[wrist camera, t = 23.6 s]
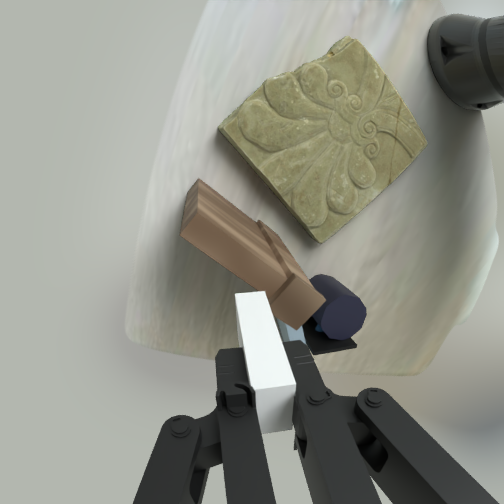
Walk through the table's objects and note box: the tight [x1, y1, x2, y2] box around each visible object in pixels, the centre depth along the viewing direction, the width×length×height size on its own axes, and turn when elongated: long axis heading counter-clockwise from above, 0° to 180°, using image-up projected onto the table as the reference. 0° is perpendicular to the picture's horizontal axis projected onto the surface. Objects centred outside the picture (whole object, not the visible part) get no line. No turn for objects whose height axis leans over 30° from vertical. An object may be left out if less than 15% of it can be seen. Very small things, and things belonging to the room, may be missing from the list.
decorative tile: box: [218, 36, 427, 244], centre depth 34 cm, size 19×20×4 cm
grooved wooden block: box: [180, 179, 326, 331], centre depth 30 cm, size 3×12×16 cm, turn 50°
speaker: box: [302, 274, 366, 355], centre depth 39 cm, size 8×6×10 cm
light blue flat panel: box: [276, 318, 306, 344], centre depth 37 cm, size 13×2×11 cm, turn 15°
